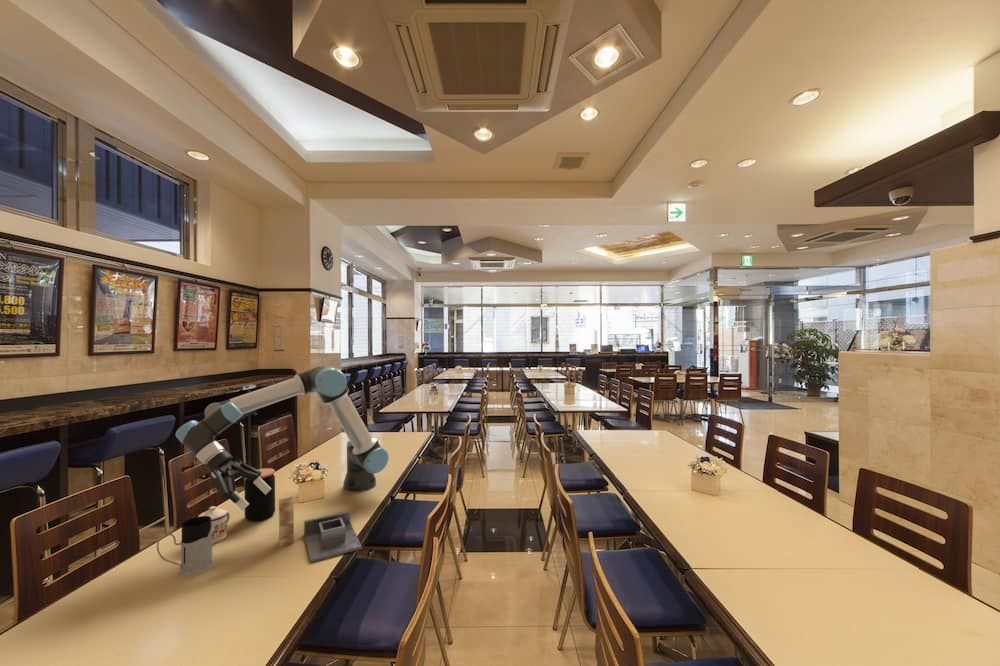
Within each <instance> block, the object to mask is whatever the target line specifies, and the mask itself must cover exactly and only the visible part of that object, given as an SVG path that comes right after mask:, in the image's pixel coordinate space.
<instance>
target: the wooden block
mask: <svg viewBox="0 0 1000 666" xmlns="http://www.w3.org/2000/svg"><path fill="white" fill-rule="evenodd" d="M294 506H295V505H294V498H293V496H289V497H286V498H285V497H284V498H279V499H278V533H279V534H278V541H279V543H278V544H279V547H285V546H288V545H293V544H295V535H294V534H295V531H294V529H295V526H294V525H295V524H294V523H295V522H294V521H295V519H294V517H295V515H294V512H295V511H294V509H295V508H294Z"/></svg>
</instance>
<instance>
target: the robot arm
mask: <svg viewBox="0 0 1000 666" xmlns="http://www.w3.org/2000/svg"><path fill="white" fill-rule="evenodd" d="M346 377H347V376H346V375H345V373H344V372H342V371H341V370H339V369H338V368H336V367H327V366H316V367H313V368H311V369H308V370H306V371H302V372H299V373H297V374H295V375H294V377H293V378H289V379H286V380H284V381H281V382H278V383H275V384H271V385H267V386H266V387H265V386H264V387H262V388H260V389H256V390H254V391H251V392H247V393H244V394H241V395H239V396H235V397H232V398H229V399H227V400H223V401H220V402H213V403H210V404H209V405H207V406H206V408H205V409H204V418H203V419H201V420H200V421H197V420H193V419H192V420H189V421H188V422H186V423H184V424H183V425H181V426H180V427H179V428H178V429H177V430H176V432H175V437H176V438H177V440H178V441H179V442H180V443H181V444H182V446H183V447H185V448H186V449H187V450H188V451H189V452H190V453H191V454H193V456H195V457H196V458H197V459H198V460H199V461H200V462H201V463H202V464H203V465H205V467H206V468H207V469H208V471H210V472H211V473H210V475H209V477H210V479H211V480H212V481H213V483H214V486H215V489H216V491H217V493H218V496H219V498H220V499H224V500H227V499H228V498H229V500H230V501H231V502H232V503H234V504H235V505H236V506H237V507H238V508H239V509H240V510H241V511H243V512H244V511H245V508H246V507H247V506H248V505H249V503H248V502H247V501H246V500H245V497H243V496H242V495H241V494H240V493H239V492H238V491H237V490H235V491H234V487H233V486H234V485H233V480H232V478H234V477H241V478H245V479H246V478H247V479H250V480H253V481H254V482H253V483H254V484H255V485H256V486H257V487H258V488H259V489H260V490H261V491H262V492H263V493H264V494H265V495H266V494H267V493H268V492H269V491H270V490H271V488H270V487H269V486H268V485H267V484H266V483H265V481H264V480H263V479H262V478H261V477H260V475H261V471H259V470H257V468H255V467H253V466H252V465H249V464H247V463H245V462H244V461H243V460H241V459H240V458H238V459H236V460H235V461H233V460H232V459H233V456H232V454H231V453H230V452H229V451H228V450H226V449H225V447H224V446H223V445H221V444H220V442H219V441H217V440H216V439H215V438H216V437H217V436H218V435H220V434H221V433H222V432H224V431H225V430H227V429H228V428H229V427H230V426H232V425H233V424H234V423H236V422H237V421H238V420H239V419H241V418H242V417H243V416H244V415H245V414H248V413H250V412H253V411H256V410H258V409H261V408H265V407H266V406H267V407H268V406H269V405H273V404H275V403H278V402H281V401H284V400H286V399H290V398H292V397H295V396H298V395H301V396H305V395H308V394H311V393H316V394H317V395H318V396H319V398H320V399H321V401H322V402H323V404H324V405H328V406H329V407H330V409H331V411H332V412H333V414H334V416H335V417H336V419H337V420H338V423H339V425H340V426H341V428H342V430H343V431H344V433H345V435H346V436H347V438H348V441H347V443H346V473H345V478H344V480H343V483H342V484H343V486H342V487H343V488H342V489H344V490H345V491H347V492H362V491H367V490H370V489H372V488H374V487H376V485H377V479H376V476H375V474H379V473H380V472H382V471H383V470H384V469H385V468H386V467H387V466H388V462H389V458H390V457H389V453H388V451H387V450H386V449H385V448H384V447H382V445H381V444H380V443H379V441H378V439H377V438H376V437H375V436H371V434H370V431H369V430H368V428H367V426H366V425H365V422H364V421H363V420H362V418H361V416H360V414H359V412H358V410H357V409H356V407H355V405H354V403H353V402H352V400H351V398H350V396H349V395H348V394H349V390H350V389H349V387H348V385H347V383H348V381H347V378H346Z"/></svg>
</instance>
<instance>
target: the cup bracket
mask: <svg viewBox="0 0 1000 666" xmlns="http://www.w3.org/2000/svg"><path fill="white" fill-rule="evenodd" d="M303 524H304V525H303V531H304V532H303V534H304V539H305V543H306V547H307V552H308V557H309V562H310V563H311V564H312V563H315V562H319V561H323V560H327V559H332V558H334V557H337V556H341V555H345V554H349V553H352V552H356V551H359V550H363V545H362V544H361V541H360V539H359V538H358V535H357V534H356V532H355V530H354V527H353V525H352V523H351V511H350V510H347V511H343V512H338V513H333V514H330V515H329V514H328V515H325V516H320V517H317V518H311V519H307V520H304V521H303Z"/></svg>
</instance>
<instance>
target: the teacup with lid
mask: <svg viewBox="0 0 1000 666" xmlns="http://www.w3.org/2000/svg"><path fill="white" fill-rule="evenodd" d="M200 516H209V517H211V524H212V545H213V544H216V543H219V542H222V541H223V540H224V539H225V538H227V536H228V523H229V521H230V512H229V511H227V509H225V508H217V506H215V505H214V506H210V507H209V508H208V510H206V511H204V512H202V513H200V514H199V515H198V516H197V517H200Z"/></svg>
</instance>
